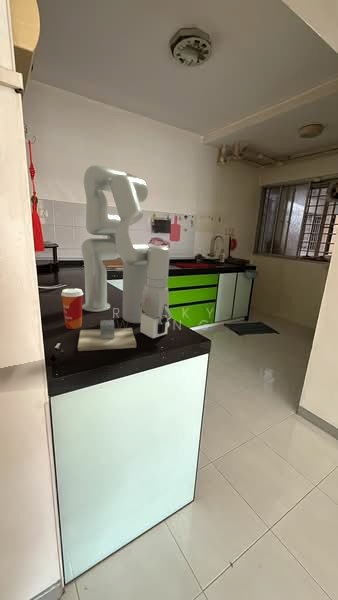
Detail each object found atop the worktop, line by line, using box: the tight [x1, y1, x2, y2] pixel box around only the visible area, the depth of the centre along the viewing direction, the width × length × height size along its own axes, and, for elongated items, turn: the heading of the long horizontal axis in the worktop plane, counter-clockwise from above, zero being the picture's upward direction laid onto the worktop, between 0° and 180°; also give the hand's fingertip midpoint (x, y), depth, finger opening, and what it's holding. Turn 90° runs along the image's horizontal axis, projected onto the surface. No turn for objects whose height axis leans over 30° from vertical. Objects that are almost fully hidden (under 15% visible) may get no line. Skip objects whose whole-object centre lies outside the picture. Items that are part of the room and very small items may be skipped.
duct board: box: [77, 327, 137, 352], centre depth 86 cm, size 13×18×2 cm
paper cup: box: [60, 287, 84, 330], centre depth 94 cm, size 8×8×14 cm
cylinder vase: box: [122, 261, 147, 324], centre depth 105 cm, size 12×12×25 cm
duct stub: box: [99, 319, 115, 339], centre depth 85 cm, size 4×4×5 cm
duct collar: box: [140, 313, 170, 339], centre depth 94 cm, size 7×10×7 cm
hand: (153, 329), depth 93 cm, fingers closed on duct collar, 7 cm apart
